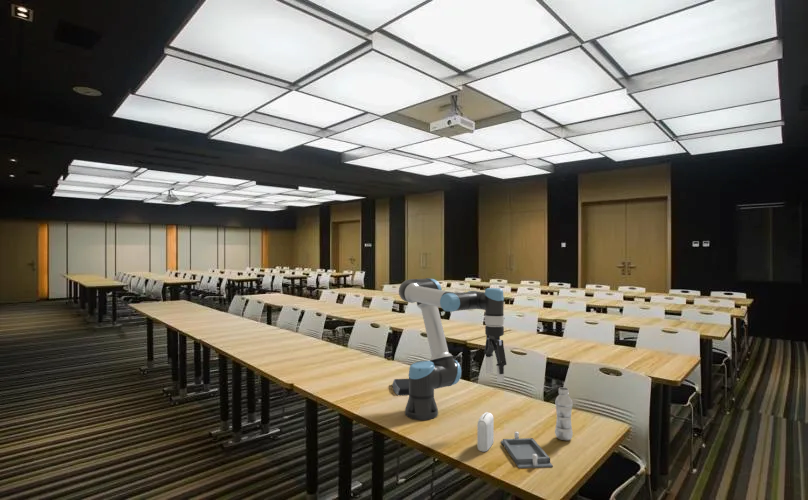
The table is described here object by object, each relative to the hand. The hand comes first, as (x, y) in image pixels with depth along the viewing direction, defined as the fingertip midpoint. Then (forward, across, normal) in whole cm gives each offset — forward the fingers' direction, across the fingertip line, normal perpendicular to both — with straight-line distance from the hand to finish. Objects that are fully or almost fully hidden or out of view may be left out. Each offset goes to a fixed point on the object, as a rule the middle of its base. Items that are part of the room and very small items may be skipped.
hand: (494, 376), depth 170 cm
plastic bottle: (+24, -8, -26) cm, 36 cm away
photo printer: (+24, -11, +8) cm, 27 cm away
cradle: (+23, -18, -5) cm, 30 cm away
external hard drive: (+24, +60, +30) cm, 71 cm away
